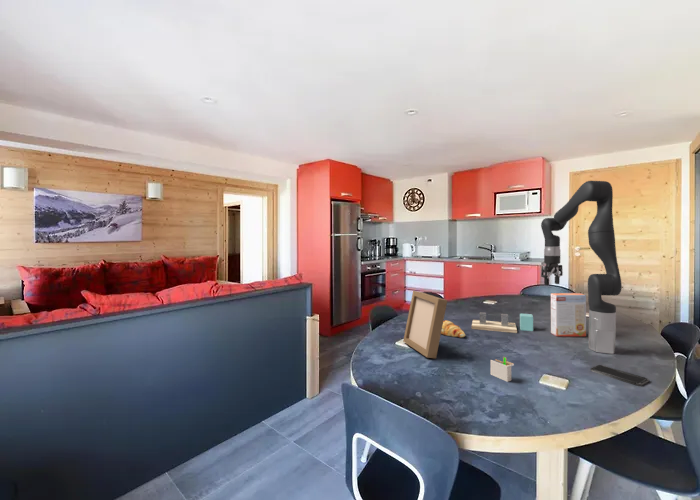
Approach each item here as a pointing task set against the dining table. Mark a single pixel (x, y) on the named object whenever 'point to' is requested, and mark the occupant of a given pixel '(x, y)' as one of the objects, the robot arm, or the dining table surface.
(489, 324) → the birch board
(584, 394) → the dining table surface
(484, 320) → the left steel post
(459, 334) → the croissant
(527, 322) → the light blue cube
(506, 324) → the right steel post
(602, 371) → the dark grey flat bar
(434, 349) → the photo frame
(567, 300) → the cracker box
